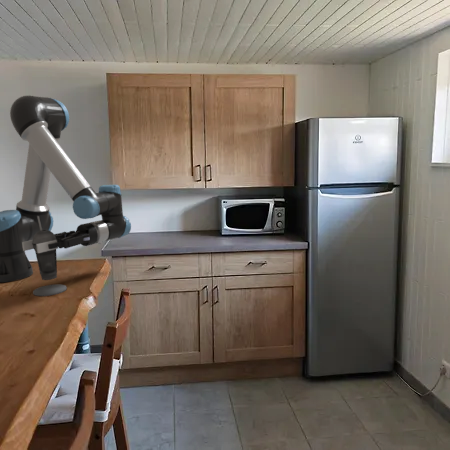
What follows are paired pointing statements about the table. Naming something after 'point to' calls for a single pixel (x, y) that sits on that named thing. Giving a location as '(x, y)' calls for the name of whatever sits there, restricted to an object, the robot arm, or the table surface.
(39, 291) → the coaster
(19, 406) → the table surface
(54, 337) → the table surface
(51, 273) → the beverage cup
